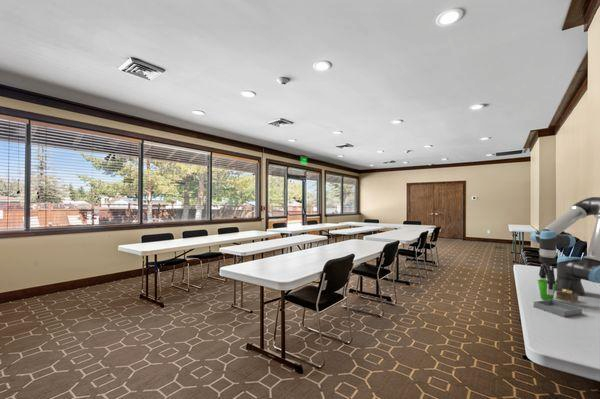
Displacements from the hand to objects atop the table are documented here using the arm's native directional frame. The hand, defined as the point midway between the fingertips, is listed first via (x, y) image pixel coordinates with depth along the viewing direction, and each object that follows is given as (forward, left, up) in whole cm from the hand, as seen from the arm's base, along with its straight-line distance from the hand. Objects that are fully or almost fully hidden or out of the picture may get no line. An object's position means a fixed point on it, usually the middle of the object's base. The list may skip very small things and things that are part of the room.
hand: (546, 291), depth 170 cm
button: (-13, +3, -2) cm, 14 cm away
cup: (0, 0, -5) cm, 5 cm away
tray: (+14, +14, -5) cm, 20 cm away
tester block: (-13, +3, -5) cm, 15 cm away
